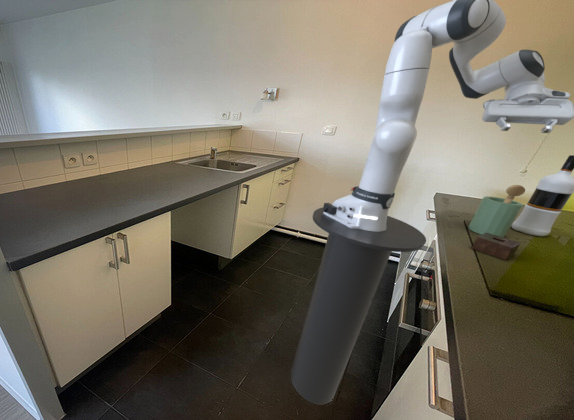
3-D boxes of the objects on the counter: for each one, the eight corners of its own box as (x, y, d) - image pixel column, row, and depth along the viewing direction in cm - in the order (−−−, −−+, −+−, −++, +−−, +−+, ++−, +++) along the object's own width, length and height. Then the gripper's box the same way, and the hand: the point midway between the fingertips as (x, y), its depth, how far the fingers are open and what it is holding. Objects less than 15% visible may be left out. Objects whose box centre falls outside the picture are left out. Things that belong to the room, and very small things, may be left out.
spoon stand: (471, 248, 82) (477, 236, 80) (480, 243, 85) (486, 232, 83) (505, 260, 75) (512, 247, 74) (513, 255, 79) (521, 242, 77)
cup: (464, 228, 96) (479, 198, 91) (473, 225, 100) (489, 195, 95) (498, 239, 89) (517, 206, 84) (507, 235, 93) (526, 203, 88)
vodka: (508, 229, 97) (553, 154, 86) (511, 224, 102) (553, 152, 91) (546, 239, 90) (600, 158, 79) (547, 233, 95) (598, 156, 84)
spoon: (479, 229, 94) (511, 185, 84) (478, 227, 96) (509, 183, 85) (494, 232, 93) (528, 187, 82) (492, 230, 94) (526, 185, 83)
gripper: (489, 92, 88) (488, 121, 83) (577, 93, 79) (582, 125, 74) (478, 106, 93) (477, 134, 89) (559, 108, 84) (563, 139, 80)
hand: (525, 130), depth 81 cm, fingers open, 8 cm apart
